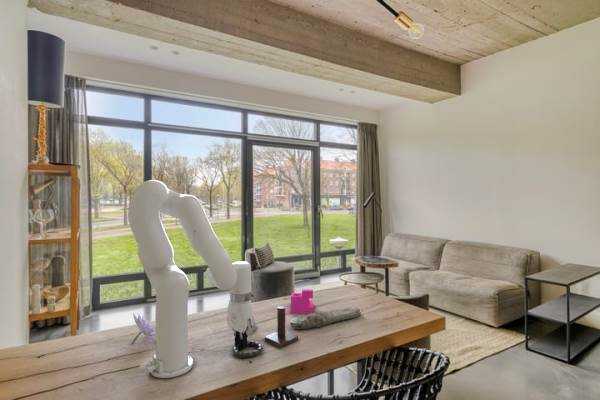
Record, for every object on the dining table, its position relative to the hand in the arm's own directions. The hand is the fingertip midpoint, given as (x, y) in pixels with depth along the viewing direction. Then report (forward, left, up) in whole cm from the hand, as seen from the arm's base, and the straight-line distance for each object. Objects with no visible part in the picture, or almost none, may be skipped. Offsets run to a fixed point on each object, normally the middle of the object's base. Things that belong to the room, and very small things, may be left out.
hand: (241, 347), depth 115 cm
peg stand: (+14, -6, 0) cm, 15 cm away
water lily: (-21, +31, 0) cm, 37 cm away
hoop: (0, -4, +1) cm, 4 cm away
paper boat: (+11, +13, 0) cm, 17 cm away
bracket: (+44, +12, 0) cm, 46 cm away
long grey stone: (+40, -7, 0) cm, 41 cm away
